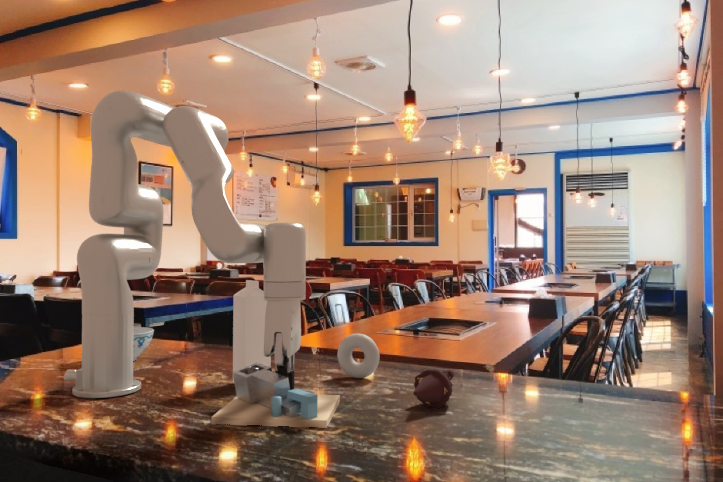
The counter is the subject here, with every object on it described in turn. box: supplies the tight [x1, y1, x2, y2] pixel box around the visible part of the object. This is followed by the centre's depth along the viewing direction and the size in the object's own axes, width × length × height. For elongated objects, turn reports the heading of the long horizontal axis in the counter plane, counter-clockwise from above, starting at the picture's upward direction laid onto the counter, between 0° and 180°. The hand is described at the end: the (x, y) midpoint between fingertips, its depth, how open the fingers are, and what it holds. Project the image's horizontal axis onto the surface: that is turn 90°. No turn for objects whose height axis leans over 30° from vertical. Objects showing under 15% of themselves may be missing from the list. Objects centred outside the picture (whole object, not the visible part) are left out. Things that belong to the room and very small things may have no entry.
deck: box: [210, 394, 341, 429], centre depth 99 cm, size 19×16×1 cm
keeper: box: [271, 388, 319, 419], centre depth 93 cm, size 6×5×5 cm
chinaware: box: [133, 326, 155, 362], centre depth 145 cm, size 15×15×8 cm
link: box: [232, 363, 301, 418], centre depth 99 cm, size 17×5×5 cm, turn 40°
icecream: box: [413, 369, 455, 409], centre depth 103 cm, size 7×7×15 cm
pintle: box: [247, 367, 260, 375], centre depth 104 cm, size 2×2×6 cm
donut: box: [336, 333, 381, 379], centre depth 126 cm, size 10×4×10 cm, turn 68°
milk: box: [232, 279, 272, 384], centre depth 120 cm, size 6×6×22 cm
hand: (284, 393), depth 101 cm, fingers closed
